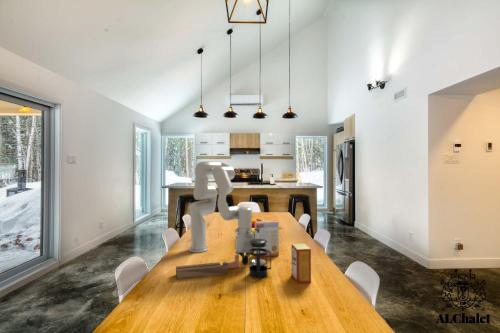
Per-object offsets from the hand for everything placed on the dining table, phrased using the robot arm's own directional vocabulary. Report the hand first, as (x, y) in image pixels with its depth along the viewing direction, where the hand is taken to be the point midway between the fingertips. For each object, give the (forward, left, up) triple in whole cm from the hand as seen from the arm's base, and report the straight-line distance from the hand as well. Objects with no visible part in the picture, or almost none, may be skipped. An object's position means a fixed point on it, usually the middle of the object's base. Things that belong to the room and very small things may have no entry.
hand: (245, 264), depth 142 cm
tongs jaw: (+3, -25, -1) cm, 25 cm away
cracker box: (-15, +17, -2) cm, 23 cm away
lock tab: (0, -7, -1) cm, 7 cm away
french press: (+12, +4, -2) cm, 13 cm away
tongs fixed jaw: (+5, -23, -1) cm, 24 cm away
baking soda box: (+22, +22, -2) cm, 32 cm away
